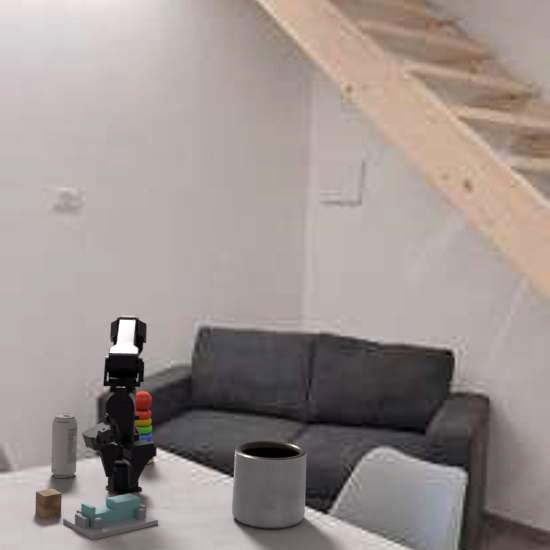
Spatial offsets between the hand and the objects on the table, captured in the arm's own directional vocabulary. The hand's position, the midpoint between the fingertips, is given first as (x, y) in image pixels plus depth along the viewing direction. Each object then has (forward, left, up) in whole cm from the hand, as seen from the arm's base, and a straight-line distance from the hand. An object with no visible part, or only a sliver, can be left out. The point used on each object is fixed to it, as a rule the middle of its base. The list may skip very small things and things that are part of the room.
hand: (119, 482), depth 203 cm
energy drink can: (-7, -37, -9) cm, 38 cm away
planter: (-28, +16, -9) cm, 34 cm away
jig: (+2, 0, -9) cm, 9 cm away
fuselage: (+2, 0, -8) cm, 8 cm away
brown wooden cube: (+10, -13, -9) cm, 18 cm away
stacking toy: (-29, -37, -9) cm, 48 cm away
